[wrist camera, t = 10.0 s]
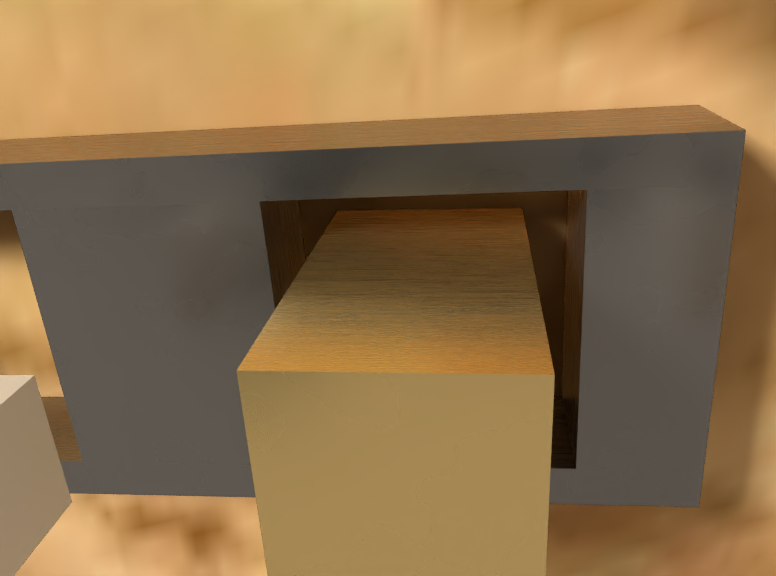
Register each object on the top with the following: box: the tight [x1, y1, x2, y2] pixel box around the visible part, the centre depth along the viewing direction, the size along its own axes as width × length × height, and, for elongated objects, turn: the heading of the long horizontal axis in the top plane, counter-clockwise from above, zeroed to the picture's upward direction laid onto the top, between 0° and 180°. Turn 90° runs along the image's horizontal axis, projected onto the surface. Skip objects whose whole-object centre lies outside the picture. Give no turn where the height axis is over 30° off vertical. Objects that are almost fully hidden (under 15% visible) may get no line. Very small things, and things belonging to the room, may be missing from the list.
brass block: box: [237, 208, 555, 576], centre depth 14 cm, size 4×4×8 cm
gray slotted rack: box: [0, 105, 746, 507], centre depth 17 cm, size 24×8×3 cm, turn 94°
